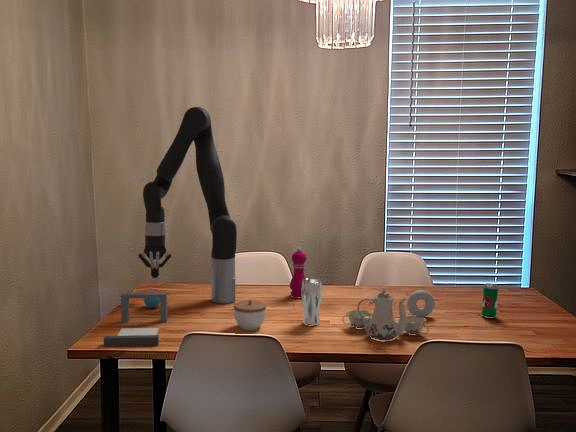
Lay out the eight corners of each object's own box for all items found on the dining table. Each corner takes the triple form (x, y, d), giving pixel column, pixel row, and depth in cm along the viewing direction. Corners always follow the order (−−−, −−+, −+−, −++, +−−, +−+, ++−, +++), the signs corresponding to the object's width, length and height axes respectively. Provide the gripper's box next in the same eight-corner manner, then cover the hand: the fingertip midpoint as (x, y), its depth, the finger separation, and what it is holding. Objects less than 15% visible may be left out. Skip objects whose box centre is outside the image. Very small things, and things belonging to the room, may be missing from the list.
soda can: (497, 319, 194) (499, 286, 192) (482, 318, 195) (484, 286, 193) (495, 315, 199) (497, 283, 197) (480, 314, 200) (482, 282, 198)
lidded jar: (254, 334, 176) (254, 306, 174) (227, 329, 181) (227, 301, 180) (271, 325, 185) (272, 298, 184) (245, 320, 190) (245, 294, 189)
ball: (161, 304, 207) (161, 289, 206) (159, 309, 201) (159, 293, 200) (145, 305, 206) (145, 289, 206) (142, 309, 200) (142, 294, 200)
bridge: (123, 319, 189) (122, 292, 188) (167, 319, 190) (167, 292, 189) (121, 322, 186) (120, 294, 185) (166, 322, 187) (165, 294, 186)
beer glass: (323, 321, 190) (324, 279, 188) (318, 327, 183) (319, 284, 181) (304, 319, 192) (305, 277, 190) (298, 325, 185) (299, 282, 183)
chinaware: (427, 335, 182) (429, 285, 181) (429, 348, 166) (431, 293, 165) (343, 328, 188) (345, 280, 187) (337, 340, 172) (339, 287, 171)
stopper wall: (158, 342, 167) (158, 335, 167) (157, 345, 165) (157, 337, 165) (105, 343, 166) (105, 335, 166) (103, 346, 164) (103, 338, 164)
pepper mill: (305, 299, 217) (306, 249, 214) (287, 298, 218) (288, 248, 216) (308, 294, 224) (309, 246, 221) (291, 293, 225) (292, 245, 223)
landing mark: (159, 328, 180) (159, 327, 180) (153, 341, 169) (153, 340, 169) (121, 329, 179) (121, 328, 179) (113, 341, 168) (113, 341, 168)
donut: (432, 315, 198) (433, 288, 196) (435, 318, 194) (436, 291, 193) (405, 315, 197) (406, 288, 196) (407, 318, 194) (409, 291, 192)
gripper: (135, 234, 205) (135, 279, 207) (171, 235, 206) (171, 280, 208) (139, 231, 213) (139, 275, 215) (173, 232, 214) (173, 275, 216)
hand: (155, 277), depth 212 cm, fingers closed
